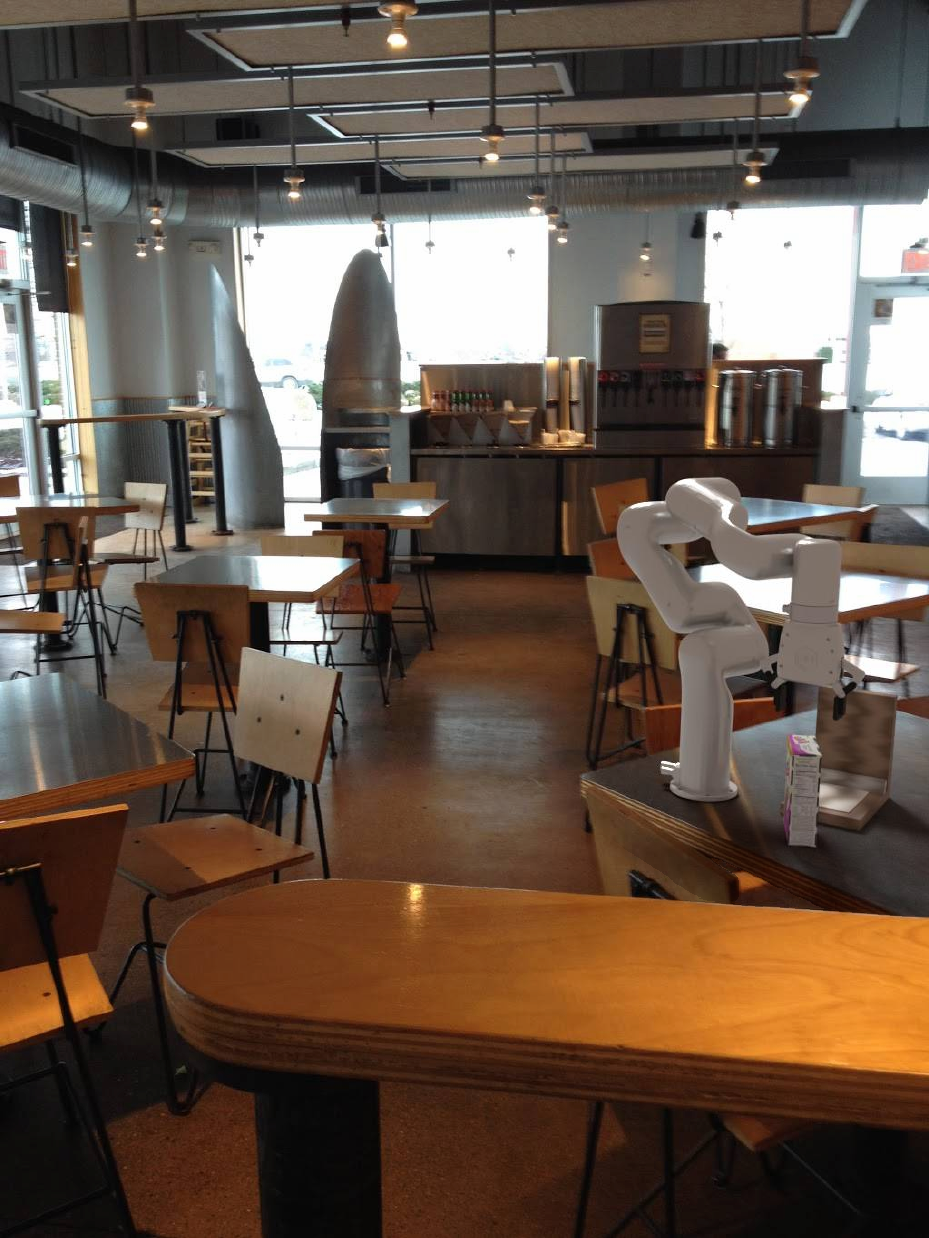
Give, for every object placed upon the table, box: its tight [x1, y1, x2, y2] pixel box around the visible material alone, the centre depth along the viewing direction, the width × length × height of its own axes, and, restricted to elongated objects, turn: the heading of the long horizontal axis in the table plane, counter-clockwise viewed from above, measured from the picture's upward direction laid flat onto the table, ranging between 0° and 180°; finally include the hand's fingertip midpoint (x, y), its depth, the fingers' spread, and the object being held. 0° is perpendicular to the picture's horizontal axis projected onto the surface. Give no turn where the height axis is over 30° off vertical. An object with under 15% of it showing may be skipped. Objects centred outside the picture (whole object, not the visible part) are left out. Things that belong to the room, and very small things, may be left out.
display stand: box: [779, 685, 899, 832], centre depth 202 cm, size 14×20×20 cm
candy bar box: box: [782, 733, 822, 849], centre depth 189 cm, size 11×5×16 cm, turn 168°
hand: (808, 714), depth 186 cm, fingers open, 9 cm apart
